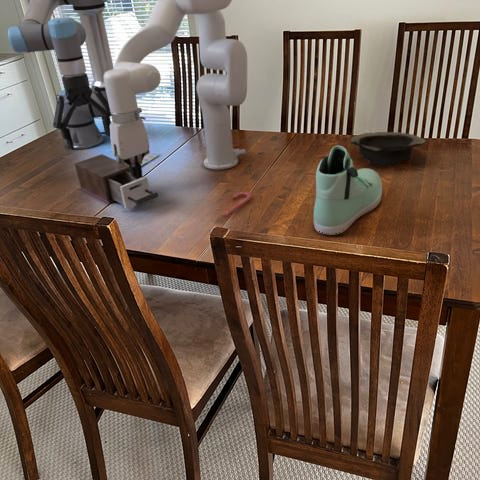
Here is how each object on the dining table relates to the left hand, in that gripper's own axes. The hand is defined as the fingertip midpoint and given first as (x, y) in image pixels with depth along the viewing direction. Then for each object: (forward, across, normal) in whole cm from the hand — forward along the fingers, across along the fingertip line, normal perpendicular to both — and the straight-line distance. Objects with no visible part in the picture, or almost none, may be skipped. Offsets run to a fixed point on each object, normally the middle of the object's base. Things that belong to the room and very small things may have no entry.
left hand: (90, 141), depth 155 cm
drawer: (+15, 0, +18) cm, 23 cm away
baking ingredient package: (+16, -21, -9) cm, 29 cm away
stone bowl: (+16, -77, +62) cm, 100 cm away
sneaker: (+16, -38, +74) cm, 85 cm away
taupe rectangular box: (+16, 0, +4) cm, 17 cm away
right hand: (+6, 0, +25) cm, 26 cm away
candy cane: (+16, -19, +47) cm, 53 cm away
